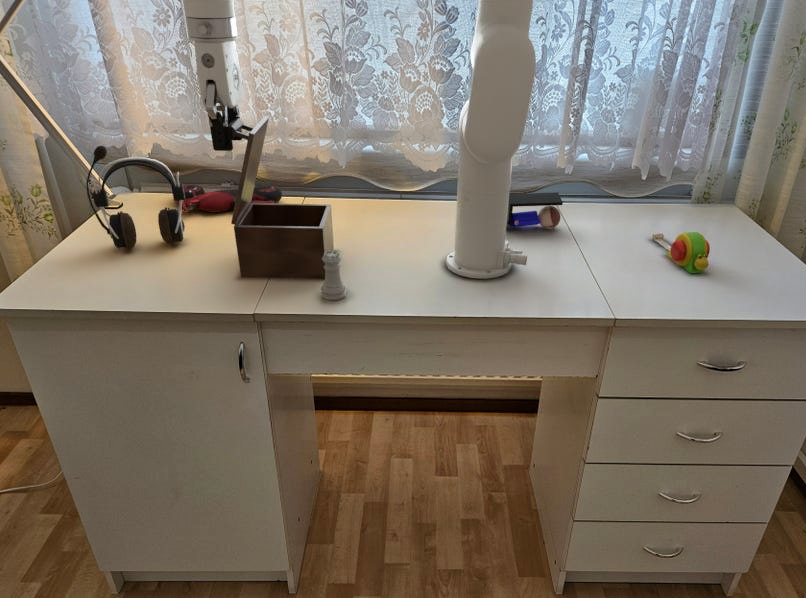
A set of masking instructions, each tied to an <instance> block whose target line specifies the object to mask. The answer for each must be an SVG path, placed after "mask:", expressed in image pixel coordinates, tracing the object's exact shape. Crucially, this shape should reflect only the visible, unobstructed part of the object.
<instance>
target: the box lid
mask: <svg viewBox="0 0 806 598" xmlns="http://www.w3.org/2000/svg"><path fill="white" fill-rule="evenodd" d="M269 119H270V117H269V116H267V115H263V117H262V118H261V119H260V120H259V121H258V122H257V124H255V126H254V127H253V126H251V125H247V124H245V122H244V121H243V119H242V118H241V117H240V118H235V119H234V120H233V121H232V122H230V123H229V124H228V126H230V129H231V136H232V138H234V137H235V136H237V137H240V138H242V140H246V141H247V142H246V147H245V151H244V158H243V161H242V167H241V172H240V177H239V182H238V187H237V189H238V192H237V197H236V202H235V207H234V209H233V211H232V216H231V223H230V224H231V225H234V226H235V225H236V223H237V222H238V220H239V219H240V217H241V216H242V214H243V213H244V211H245V210H246V208H247V207H248V205H249V204H250V202H251V200H252V195H253V190H254V187H256V180H257V176H258V171H259V166H260V161H261V158H262V157H261V156H262V151H263V148H264V143H265V139H266V135H267V129H268V124H269ZM241 130H245V131H248V132H249V133H248V134H246V133H243V132H242V133H241V132H240V131H241Z"/></svg>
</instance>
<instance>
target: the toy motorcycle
mask: <svg viewBox="0 0 806 598" xmlns="http://www.w3.org/2000/svg"><path fill="white" fill-rule="evenodd" d="M183 188H184V193H185V200H182V211H183V212H186V213H188V212H189V211H188V209H189V210H196V209H201V210H203V211H206V212H209V213H220V212H224V211H230V210H234V207H235V202H236V197H237V192H238V188H233V189H231V188H230V189H229V188H228V189H219V190H215V191H209V192H205V190H204V188H203V186H200V185H197V184H184V185H183ZM282 198H283V193H282V191H281V189H280V188H279V187H277V186H274V185H272V184H261V185H255V186H254V190H253V195H252V200H251V202H250V203H279V202H280V200H282ZM175 202H176V203H175V205H177V207H178V208H179V201H175Z"/></svg>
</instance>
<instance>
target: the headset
mask: <svg viewBox="0 0 806 598" xmlns="http://www.w3.org/2000/svg"><path fill="white" fill-rule="evenodd" d="M107 153H108V149H107V148H106V147H105V145H98V146H96V148H95V149H94V151H93V161H92V164H91V166H90V169H89V171H88V174H87V177H86V182H85V185H86V194H87V199H88V202H89V205H90V207H91V209H92V211H93V213H94V215H95V217H96V219H97V221H98V223H99V224H100V226H101V227H102V228H103V229H104V230H105V231H106V234H107V235H108V236H110V238H111V239H112V242H113V244H114V246H115V247H116V248H117V249H124V248H125V249H126V250H128V251H129V250H131V249H132V248H135V246H136V244H137V229H136V226H135V222H134V220H133V217H132V216H131V215H130V214H129V213H128V212H124V211H122V210H121V211H118V212H117V213H116V214H110V213H108V212H107V210H106V209H105V208H108V207H109V205H110V204H109V199H108V195H107V191H106V189H105V185H106V182H107V181H108V179H109V177H110V176H111V175H113V173H115V172H116V171H118V170H120V169H122V168H126V167H132V166H137V167H146V168H149V169H151V170H154V171H156V172H158V173H159V174H160V175H161V176H163V177H164V178H165V179H166V181H168V182H169V185H170V188H171V193H172V199H173V201H174V202H176V201H179V207H178V208H170V207H166V206H165V207H164V209H160V210H159V212H158V214H157V222H158V228H159V232H160V236H161V239H162V240H163V242H165V243H166V244H168V245H169V244H170V245H171V246H174V243H181V242H183V241H184V232H185V229H186V228H185V227H186V226H185V223H184V221H183V218H182V211H183V210H182V200H185V193H184V188H183V186H184V185H183V184H182V183H180V178H179V177H180V172H179V171H177V172H176V174H175V175H176V176H175V177H176V179H175V177H174V174H173V172H172V171H171V169H170V168H169V167H168V166H167V165H166V163H164V162H162V161H160V160H157V159H154V158H149V157H144V156H132V157H131V156H130V157H123V158H119V159H116V160H113V161H110V162H108V163H107V164H106V165H104V166H103V167H102V169H101V170H100V173H99V176H98V181H97V182H98V183H97V182H96V181H95V179H94V178H92V177H91V174H92V172H93V169H94V167H95V165H96V164H97V163H98V162H99V161H100V160H104V159H105V158H106V156H107ZM110 166H111V167H110ZM109 167H110V168H109ZM106 169H108V170H107V171H106V173H105V174H104V177H103V180H102V183H101V177H102V174H103V173H104V172H105V170H106ZM90 177H91V178H90ZM90 182H91V183H92V185H93V188H94V190H93V192H92V198H91V195H90V188H89V183H90ZM97 184H98V185H97ZM92 199H93V202H92ZM93 204H94V205H93ZM95 207H96V208H99V209H100V212H101V213H102V215H103V218H104V221H105V222H106V224H105V223H104V221H103V220H102V218H100V216H99V213H98V212H97V210H96V209H95ZM107 216H108V218H107ZM106 225H107V226H108V227H107V226H106Z"/></svg>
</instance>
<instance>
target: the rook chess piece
mask: <svg viewBox="0 0 806 598" xmlns="http://www.w3.org/2000/svg"><path fill="white" fill-rule="evenodd" d="M322 260H323V261H324V263H325V266H324V268H325V279H324V280H323V282H322V285H321V288H320V291H321V293H320V295H321V297H322V298H323V299H325V300H327V301H330V302H331V301H332V302H333V301H334V302H335V301H340V300H342V299H344V298H345V297H346V296H347V291H346V289H347V286H346V284H345V283H344V281H343V280H342V276H341V271H340V270H341V269H340V268H341V265H340V262H341V260H342V256H341V255H340V253H339V251H337V250H334V251H333V253H331V250H330V251H328V254H327V252H324V256H323V258H322Z"/></svg>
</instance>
